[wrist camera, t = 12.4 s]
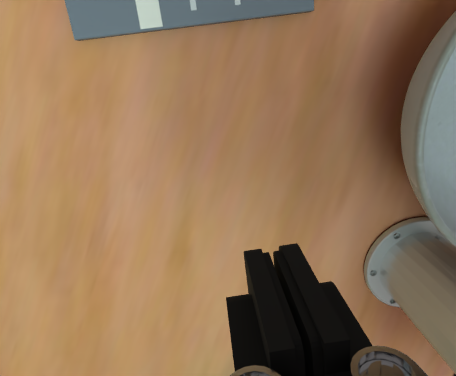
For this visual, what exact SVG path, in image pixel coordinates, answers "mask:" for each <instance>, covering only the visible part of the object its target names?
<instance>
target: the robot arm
mask: <svg viewBox="0 0 456 376" xmlns="http://www.w3.org/2000/svg"><path fill="white" fill-rule="evenodd" d="M273 256H274V265H273V262H272V260H271V257H270V254H269V252H267V253H263V252H262V250H261V249H256V250H249V251H244V259H245V268H246V276H247V284H248V293H249V294H246V295H239V296H233V297H226V301H227V310H228V318H229V326H230V334H231V343H232V351H233V359H234V367H235V372H234V373H233V374H231V375H230V376H428V375H427V374H426V373H425V372H424V371H423V370H422V369H421V368H420V367H419V366H418V365H417V364H416V363H415V362H414V361H413V360H412V359H411V358H410V357H408V356H407V355H405V354H404V353H402V352H400V351H398V350H395V349H392V348H389V347H385V346H372V344H371V343H370V341H369V339H368V338H367V336H366V334H365V333H364V331H363V330H362V328H361V326H360V325H359V323H358V321H357V320H356V318H355V317H354V315H353V313H352V312H351V310H350V308H349V307H348V305H347V304H346V302H345V300H344V299H343V297H342V296H341V294H340V292H339V291H338V289H337V287H336V286H335V284H334V283H333V282H331V281H330V282H324V283H319V282H318V280H317V278H316V276H315V275H314V273H313V271H312V269H311V267H310V265H309V264H308V262H307V260H306V258H305V256H304V255H303V253H302V251H301V249H300V247H299V245H298V244H289V245H283V246H279V251H274V252H273ZM364 277H365V281H366V283H367V286H368V287H369V289H370V290H371V292H372V293H373V294H374V295H375V296H376V298H377V299H379V300H380V301H382V302H383V303H385V304H388V305H390V306H395V307H400V308H401V309H402V310H403V311H404V312H405V314H406V315H407V316H408V317H409V318H410V320H411V321H412V322H413V323H414V325H415V326H416V327H417V328H418V329H419V331H420V332H421V333H422V334H423V335H424V337H425V338H426V339H427V340H428V341H429V343H430V344H431V345H432V346H433V348H434V349H435V350H436V351H437V352H438V354H439V355H440V356H441V357H442V358H443V360H444V361H445V362H446V363H447V364H448V366H449V367H450V368H451V369H452V371H453V372H454V373H455V374H456V246H454V245H453V244H452V243H451V242H450V241H449V240H447V239H446V238H445V237H444V236H443V235H442V234H441V232H440V231H439V230H438V229H437V228H436V227H435V225H434V224H433V223H432V221H431V220H430V219H429V217H419V218H412V219H408V220H405V221H402V222H400V223H398V224H396V225H394V226H392V227H391V228H389V229H388V230H386V231H385V232H384V233H383V234H382V235H381V236H380V237H379V238H378V239H377V240H376V241H375V242H374V244H373V245H372V246H371V248H370V250H369V252H368V254H367V257H366V260H365V263H364Z"/></svg>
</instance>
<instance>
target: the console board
mask: <svg viewBox="0 0 456 376" xmlns="http://www.w3.org/2000/svg"><path fill="white" fill-rule="evenodd" d="M65 3H66V7H67V11H68V15H69V19H70V23H71V27H72V31H73V35H74V39H75V40H78V41H81V40H89V39H97V38H105V37H113V36H121V35H129V34H137V33H145V32H153V31H161V30H169V29H177V28H185V27H193V26H201V25H209V24H217V23H225V22H233V21H241V20H249V19H257V18H265V17H273V16H281V15H289V14H297V13H305V12H311V11H313V10H314V0H65Z"/></svg>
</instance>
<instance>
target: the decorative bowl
mask: <svg viewBox="0 0 456 376" xmlns="http://www.w3.org/2000/svg"><path fill="white" fill-rule="evenodd" d="M401 148H402V155H403V161H404V165H405V169H406V172H407V175H408V178H409V181H410V184H411V186H412V189H413V191H414V193H415V195H416V197H417V199H418V201H419V203H420V204H421V206H422V208H423V210H424V211H425V213H426V214H427V216H428V217H429V219H430V220H431V221H432V223H433V224H434V225H435V227H436V228H437V229H438V230H439V231H440V232H441V234H442V235H443V236H444V237H445V238H446V239H447V240H449V241H450V242H451V243H452V244H453V245H454V246H456V11H455V12H454V13H453V14H452V15H451V17H450V18H449V19H448V20H447V21H446V23H445V24H444V25H443V26H442V28H441V29H440V30H439V32H438V33H437V34H436V36H435V37H434V38H433V40H432V41H431V43H430V44H429V46H428V48H427V49H426V51H425V52H424V54H423V56H422V58H421V60H420V62H419V63H418V65H417V68H416V70H415V72H414V74H413V76H412V79H411V82H410V84H409V87H408V90H407V94H406V97H405V101H404V106H403V112H402V119H401Z"/></svg>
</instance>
